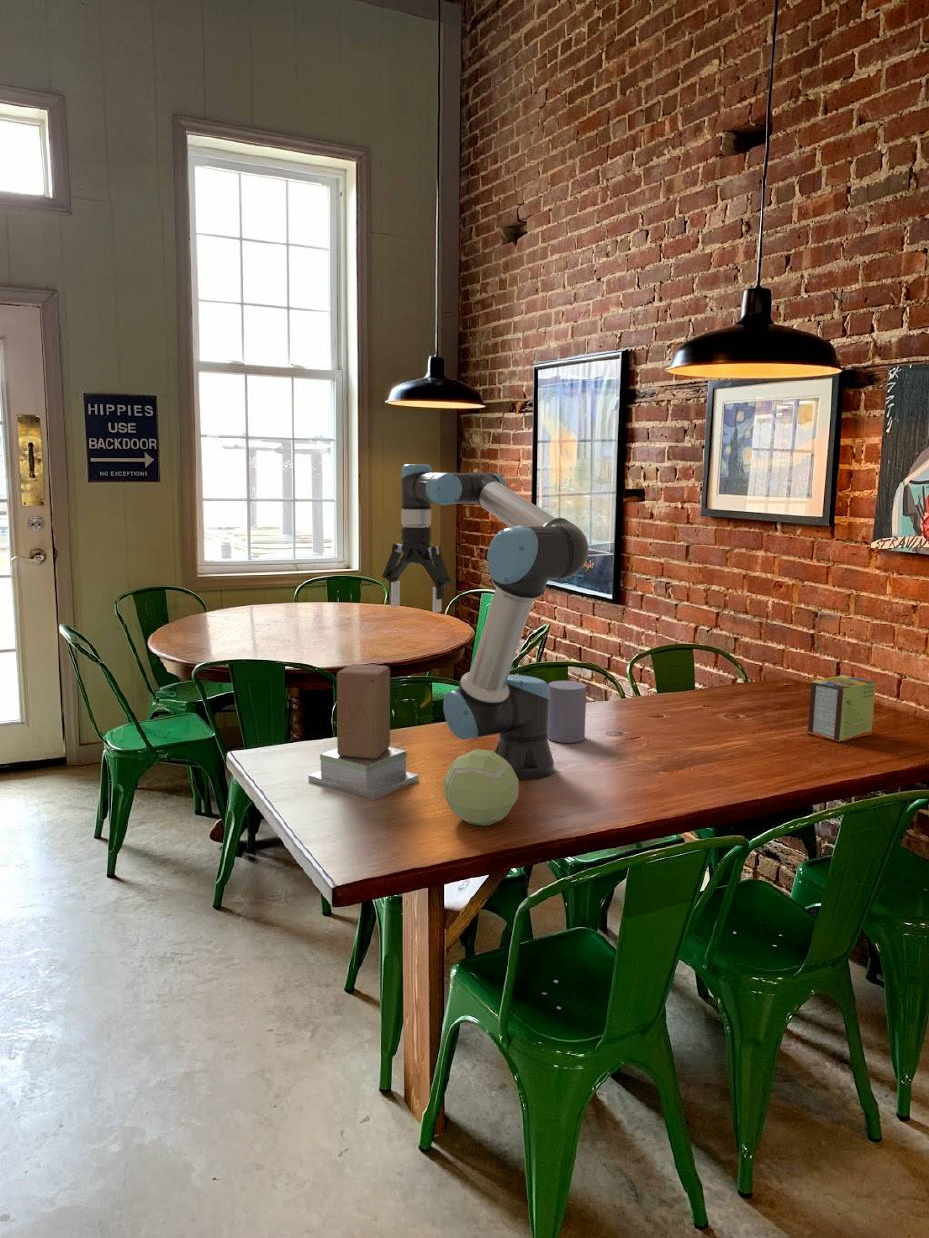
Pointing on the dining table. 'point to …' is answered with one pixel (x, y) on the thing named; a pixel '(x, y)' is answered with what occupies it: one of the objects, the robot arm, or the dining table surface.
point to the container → (566, 711)
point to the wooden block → (363, 711)
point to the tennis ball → (481, 787)
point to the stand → (364, 773)
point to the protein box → (841, 707)
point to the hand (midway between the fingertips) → (415, 609)
